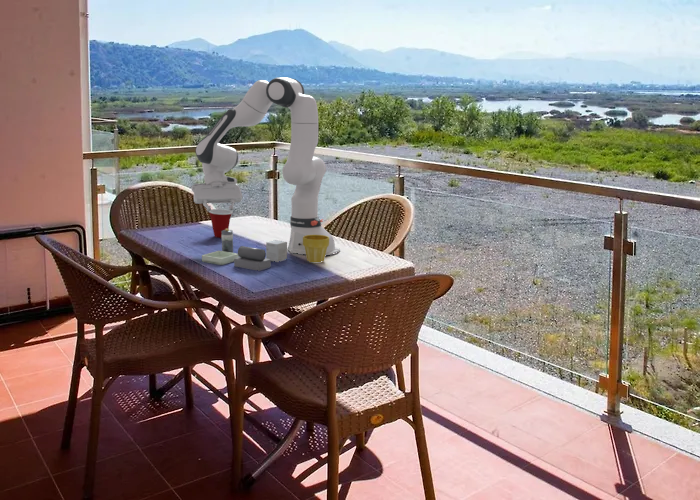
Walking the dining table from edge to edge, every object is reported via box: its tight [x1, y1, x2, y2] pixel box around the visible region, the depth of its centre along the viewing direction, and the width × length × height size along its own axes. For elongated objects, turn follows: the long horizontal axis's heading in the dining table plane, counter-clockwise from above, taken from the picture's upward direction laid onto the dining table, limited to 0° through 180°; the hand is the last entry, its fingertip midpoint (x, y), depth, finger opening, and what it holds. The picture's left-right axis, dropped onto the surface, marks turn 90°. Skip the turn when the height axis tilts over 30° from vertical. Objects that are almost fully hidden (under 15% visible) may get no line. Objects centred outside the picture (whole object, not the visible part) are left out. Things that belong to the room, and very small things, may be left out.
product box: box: [265, 239, 288, 263], centre depth 267 cm, size 6×6×7 cm
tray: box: [201, 250, 239, 266], centre depth 264 cm, size 10×10×2 cm
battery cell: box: [221, 229, 234, 253], centre depth 273 cm, size 4×4×11 cm
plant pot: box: [303, 235, 329, 263], centre depth 266 cm, size 10×10×10 cm
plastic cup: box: [208, 208, 234, 239], centre depth 307 cm, size 11×11×12 cm
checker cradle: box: [233, 245, 272, 272], centre depth 256 cm, size 12×7×7 cm, turn 60°
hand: (220, 210), depth 282 cm, fingers open, 8 cm apart
